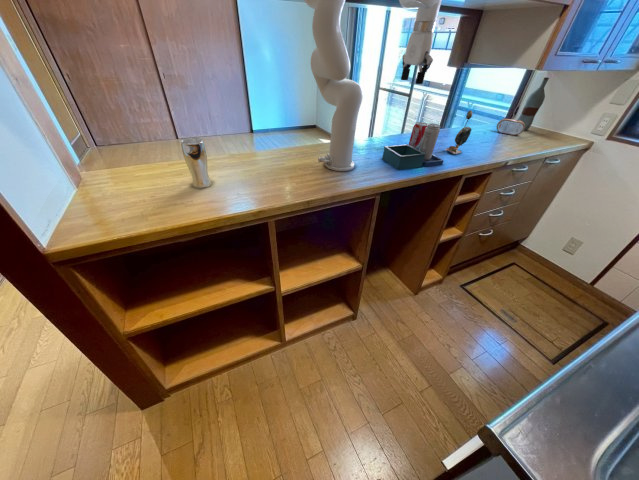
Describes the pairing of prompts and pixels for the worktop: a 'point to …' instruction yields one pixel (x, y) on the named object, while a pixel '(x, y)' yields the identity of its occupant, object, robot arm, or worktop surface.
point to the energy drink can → (429, 140)
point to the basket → (403, 156)
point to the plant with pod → (461, 136)
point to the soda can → (417, 135)
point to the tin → (510, 126)
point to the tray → (432, 161)
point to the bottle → (533, 105)
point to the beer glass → (196, 161)
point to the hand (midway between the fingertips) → (411, 81)
